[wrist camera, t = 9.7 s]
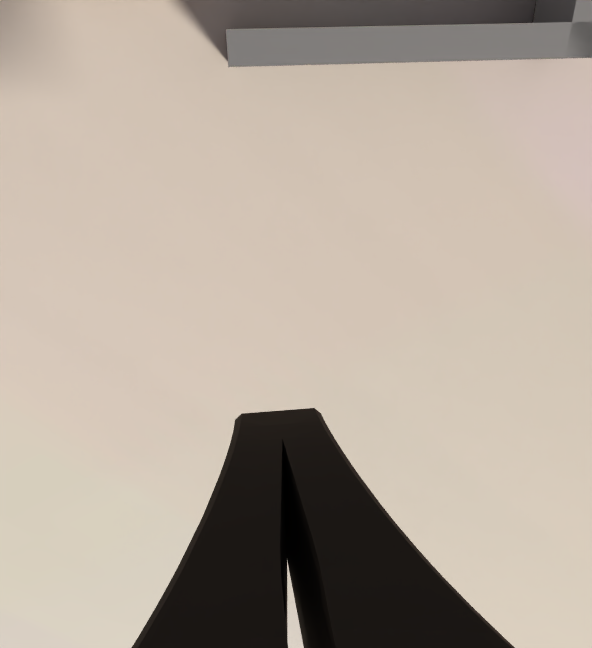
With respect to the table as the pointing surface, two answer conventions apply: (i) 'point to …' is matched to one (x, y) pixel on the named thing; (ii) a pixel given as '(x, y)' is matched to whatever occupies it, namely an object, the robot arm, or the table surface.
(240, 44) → the grey flat u-shaped frame
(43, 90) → the table surface
